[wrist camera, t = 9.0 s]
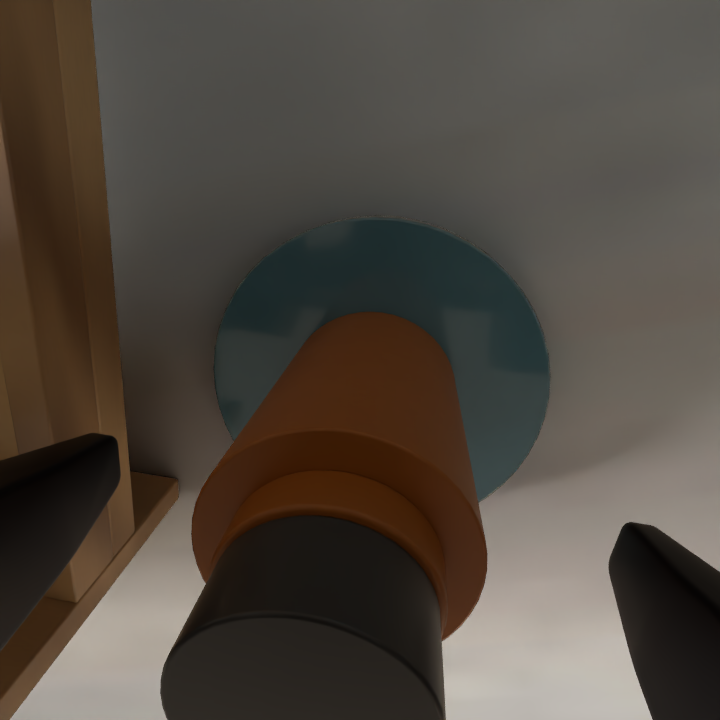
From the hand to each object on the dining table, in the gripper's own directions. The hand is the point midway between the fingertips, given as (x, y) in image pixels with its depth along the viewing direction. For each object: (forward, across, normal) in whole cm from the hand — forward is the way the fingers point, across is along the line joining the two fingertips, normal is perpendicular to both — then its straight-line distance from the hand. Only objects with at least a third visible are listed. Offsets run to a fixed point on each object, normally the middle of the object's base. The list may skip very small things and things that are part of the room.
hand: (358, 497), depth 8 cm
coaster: (+5, 0, 0) cm, 5 cm away
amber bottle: (+4, 0, 0) cm, 5 cm away
